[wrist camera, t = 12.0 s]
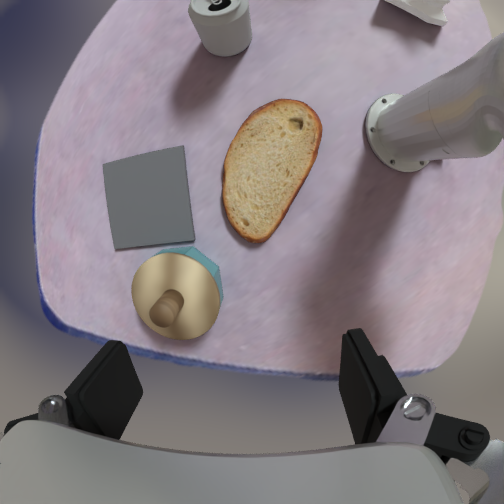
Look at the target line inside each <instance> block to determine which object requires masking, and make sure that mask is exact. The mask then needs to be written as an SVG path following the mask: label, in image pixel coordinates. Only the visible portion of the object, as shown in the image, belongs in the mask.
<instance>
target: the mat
mask: <svg viewBox="0 0 504 504" xmlns="http://www.w3.org/2000/svg"><path fill="white" fill-rule="evenodd" d="M103 174H104V183H105V192H106V200H107V207H108V214H109V220H110V226H111V232H112V238H113V243H114V248H115V249H120V248H129V247H137V246H146V245H155V244H164V243H173V242H182V241H192V240H195V233H194V226H193V219H192V212H191V204H190V196H189V188H188V179H187V170H186V161H185V151H184V146H178V147H172V148H167V149H163V150H158V151H153V152H149V153H145V154H140V155H136V156H132V157H128V158H124V159H120V160H117V161H113V162H109V163H106V164H103Z"/></svg>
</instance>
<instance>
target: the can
mask: <svg viewBox="0 0 504 504" xmlns="http://www.w3.org/2000/svg"><path fill="white" fill-rule="evenodd" d="M188 13H189V16H190V18H191V20H192V22H193V24H194V26H195V28H196V30H197V32H198V35H199V37H200V39H201V41H202V43H203V45H204V47H205V48H206V49H207V50H208V52H210V53H212V54H214V55H218V56H232V55H235V54H238V53H240V52H242V51H243V50H245V49H246V48H247V47H248V46H249V44H250V42H251V40H252V31H251V21H250V11H249V2H248V0H191V3H190V4H189V8H188Z"/></svg>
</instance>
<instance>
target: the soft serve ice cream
mask: <svg viewBox="0 0 504 504" xmlns="http://www.w3.org/2000/svg"><path fill="white" fill-rule="evenodd" d="M385 1H387V2H389V3H391V4H393V5H395V6H397V7H399V8H401V9H403V10H405V11H407V12H409V13H411V14H413V15H415V16H416V17H418V18H420V19H422V20H424V21H425V22H427V23H431V24H435V25H439V26H444V25H445V24H446V23H447V22H448V21H447V19H446V17H445V15H444V12H443V10H442V8H443V6H444V5H446V4H448V3H449V2H450V0H385Z"/></svg>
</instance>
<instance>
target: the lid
mask: <svg viewBox="0 0 504 504" xmlns="http://www.w3.org/2000/svg"><path fill="white" fill-rule="evenodd" d="M132 299H133V303H134V306H135V309H136V311H137V313H138V314H139V316H140V317H141V319H142V320H143V321H144V322H145V323H146V324H147V325H148V326H149V327H150V328H151V329H152V330H154V331H155V332H157V333H159V334H160V335H163V336H165V337H168V338H171V339H177V340H188V339H193V338H196V337H199V336H201V335H203V334H204V333H205V332H207V331H208V330H209V329H210V328H211V327H212V325H213V324H214V322H215V320H216V318H217V316H218V313H219V309H220V293H219V288H218V286H217V283H216V281H215V279H214V277H213V276H212V275H211V273H210V272H209V271H208V270H207V268H206V267H205V266H203V265H202V264H201V263H200V262H198V261H197V260H195V259H194V258H192V257H190V256H187V255H184V254H180V253H173V252H169V253H161V254H158V255H155V256H153V257H151V258H150V259H148V260H147V261H146V262H144V263H143V264H142V265H141V266H140V267H139V269H138V270H137V271H136V273H135V275H134V278H133V282H132Z"/></svg>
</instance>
